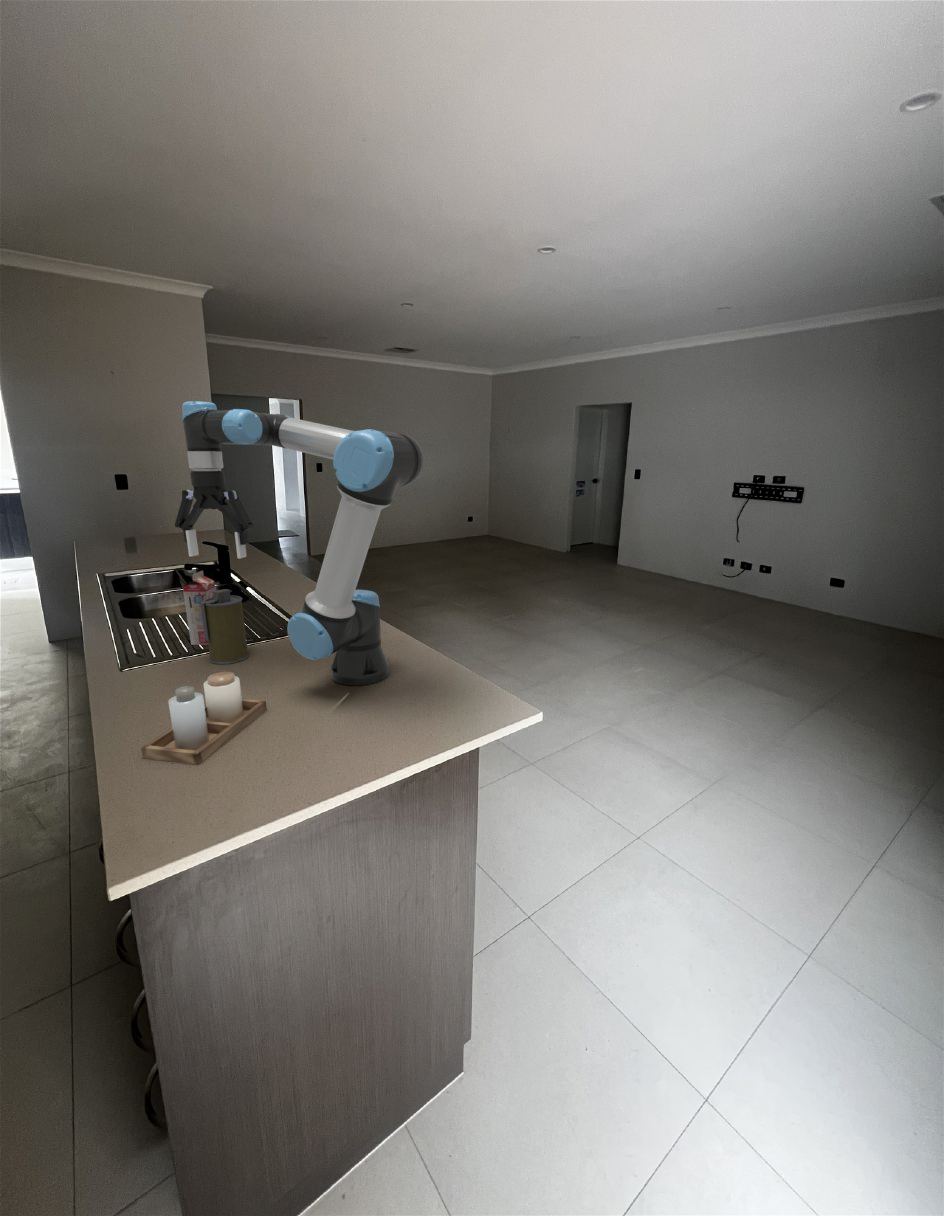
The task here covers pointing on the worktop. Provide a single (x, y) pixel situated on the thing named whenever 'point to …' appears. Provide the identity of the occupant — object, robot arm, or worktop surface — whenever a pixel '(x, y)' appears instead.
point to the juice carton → (197, 605)
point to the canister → (224, 627)
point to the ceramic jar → (223, 697)
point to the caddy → (217, 735)
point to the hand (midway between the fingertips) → (217, 556)
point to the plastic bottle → (188, 719)
